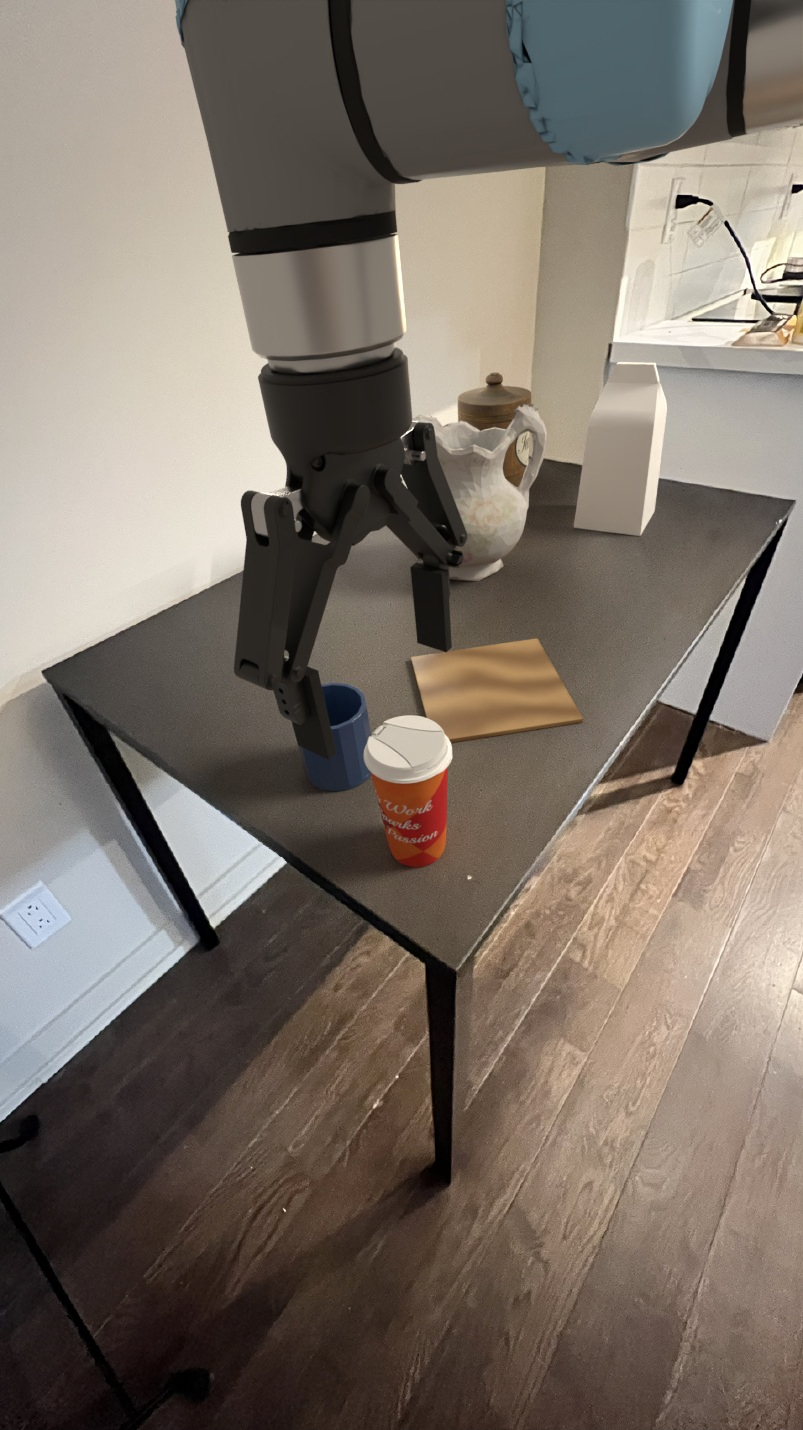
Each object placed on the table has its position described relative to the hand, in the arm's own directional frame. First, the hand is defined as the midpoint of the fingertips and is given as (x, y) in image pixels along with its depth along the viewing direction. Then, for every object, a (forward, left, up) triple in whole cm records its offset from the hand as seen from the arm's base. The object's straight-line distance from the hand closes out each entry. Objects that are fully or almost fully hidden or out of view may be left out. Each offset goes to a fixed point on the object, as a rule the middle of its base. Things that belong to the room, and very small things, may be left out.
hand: (381, 693), depth 44 cm
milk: (+72, -50, -23) cm, 91 cm away
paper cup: (+4, -2, -23) cm, 23 cm away
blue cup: (+17, +5, -23) cm, 29 cm away
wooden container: (+97, -33, -23) cm, 105 cm away
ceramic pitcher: (+62, -21, -23) cm, 69 cm away
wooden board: (+27, -15, -23) cm, 38 cm away
